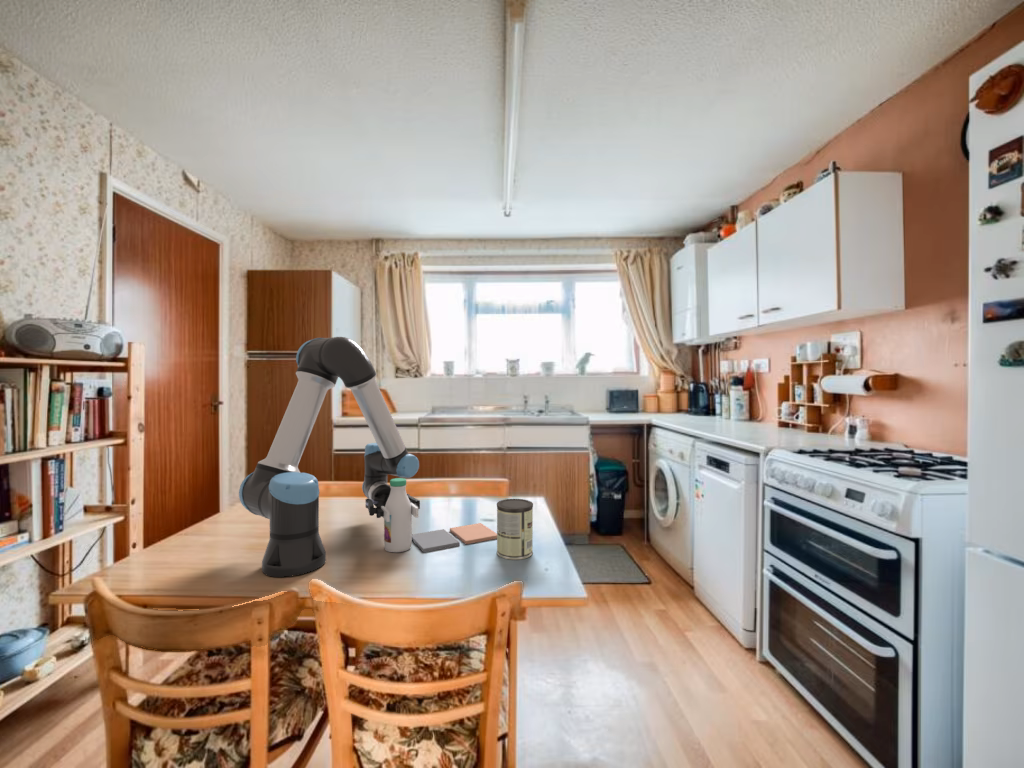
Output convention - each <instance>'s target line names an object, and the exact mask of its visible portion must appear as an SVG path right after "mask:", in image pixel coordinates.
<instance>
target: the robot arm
mask: <svg viewBox="0 0 1024 768" xmlns="http://www.w3.org/2000/svg"><path fill="white" fill-rule="evenodd" d="M295 356H296V357H295V361H296V364H297V369H296V371H295V375H296V377H297V384H296V386H295V388H294V391H293V392H292V393H293V394H292V396H291V398H290V400H289V402H288V405H287V407H286V410H285V411H284V412H285V413H284V415H283V418H282V419H281V422H280V425H279V427H278V428H277V431H276V433H275V437H274V439H273V441H272V444H271V446H270V448H269V451H268V453H267V456H266V457H265V458H264V459H261V460H259V461H258V462H257V464H256V466H255V469H254V470H253V472H251V473H250V474H248V475H247V476H246V477H245V478H244V479H243V480H242V482H241V483H240V487H239V489H238V497H239V502H240V504H241V506H242V507H244V508H245V510H247V511H248V512H249V513H251V514H253V515H256V516H260V517H261V518H262V517H263V518H265V519H268V520H269V541H268V543H267V546H266V549H265V553H264V555H263V557H262V560H261V561H262V562H261V571H262V573H263V574H264V575H265V576H267V577H269V576H270V577H273V578H274V577H276V578H285V577H284V576H290V577H293V576H292V575H297V576H299V575H298V574H301V575H304V574H303V573H305V574H308V573H311V572H314V571H316V570H318V569H320V568H321V567H323V566H324V565H325V564H326V562H325V561H327V558H326V557H327V554H326V553H327V552H326V549H325V547H324V544H323V541H322V538H321V535H320V532H319V531H320V529H319V527H320V526H319V524H320V523H319V522H320V521H319V520H320V519H319V518H320V517H319V516H320V513H319V512H320V507H319V506H320V496H319V495H320V487H319V481H318V479H317V477H315V475H313V474H310V473H307V472H301V471H300V469H299V463H300V461H301V458H302V456H303V454H304V451H305V449H306V446H307V444H308V440H309V439H310V435H311V434H312V431H313V428H314V425H315V423H316V421H317V418H318V416H319V413H320V410H321V408H322V405H323V403H324V401H325V397H326V396H327V395H326V394H327V393H328V391H329V390H331V389H333V388H335V386H336V385H337V382H338V379H339V378H340V380H341V381H342V383H343V384H344V386H345V388H347V389H349V390H351V393H352V395H353V397H354V399H355V401H356V403H357V405H358V407H359V409H360V412H361V413H362V415H363V417H364V419H365V421H366V424H367V426H368V429H369V430H370V431H371V435H372V436H373V438H374V440H375V442H369V443H367V444H366V445H365V447H364V455H363V458H364V478H363V479H364V480H363V482H362V486H361V489H362V493H363V494H364V496H365V497H366V499H365V508H366V509H368V510H367V511H368V514H369V516H375V515H376V517H375V518H376V519H380V518H383V520H384V519H385V521H386V522H390V512H389V511H388V510H387V509H386V508H385V505H386V502H387V500H388V497H389V495H390V491H391V488H390V484H388V475H389V476H393V477H394V476H395V477H397V478H404V479H410V478H413V477H414V476H415V475H416V474H417V472H418V471H419V469H420V461H419V458H418V457H417V456H416V455H414V454H412V453H409V451H408V449H407V447H406V444H405V442H404V441H403V438H402V436H401V434H400V431H399V430H398V427H397V425H396V423H395V420H394V418H393V416H392V413H391V412H390V409H389V407H388V405H387V403H386V400H385V398H384V396H383V394H382V391H381V390H380V386H379V384H378V382H377V379H376V377H377V372H376V369H375V368H374V366H373V364H372V362H371V359H370V358H369V356H368V355H367V353H366V352H365V351H364V349H363V348H362V347H361V346H360V345H359V344H358V343H357V342H355V341H354V340H352V339H350V338H348V337H346V336H334V337H316V338H313V339H310V340H307V341H305V342H304V343H302V344H301V346H300V347H299V348H298V350H297V352H296V355H295ZM407 496H408V498H409V500H410V503H411V511H412V517H415V518H419V510H420V509H421V501H420V499H418V498H415V497H414V496H411V495H410V494H409V493H407ZM323 564H324V565H323ZM322 565H323V566H322ZM319 567H320V568H319ZM317 568H318V569H317ZM315 569H316V570H315ZM313 570H314V571H313ZM310 571H311V572H310ZM307 572H308V573H307Z"/></svg>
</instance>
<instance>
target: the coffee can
mask: <svg viewBox="0 0 1024 768" xmlns="http://www.w3.org/2000/svg"><path fill="white" fill-rule="evenodd" d="M533 508H534V502H532V501H530V500H528V499H523V498H509V499H508V498H505V499H503V500H499V501H497V503H496V533H497V539H496V540H497V541H496V555H497V556H499V557H500V558H501V559H504V560H505V559H506V560H512V561H513V560H514V561H515V560H516V561H517V560H525V559H528V558H529V557H531V556H532V555H533V554H534V553H533V539H534V538H533V533H534V532H533V524H534V523H533V522H534V521H533V518H534V514H533Z"/></svg>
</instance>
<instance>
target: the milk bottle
mask: <svg viewBox="0 0 1024 768" xmlns="http://www.w3.org/2000/svg"><path fill="white" fill-rule="evenodd" d="M389 485H390V488H391V491H390V495H389V497H388V500H387V502H386V505H385V508H386V509H387V510H388V511H389V512H390V522H386V521H385V519H384V518H383V524H384V525H383V526H384V527H383V528H384V529H383V530H384V531H383V538H384V539H383V547H384V550H385V551H386V552H389V553H404V552H406V551H409V550H410V549H411V547H412V545H413V544H412V543H413V541H412V534H413V533H412V532H413V528H412V527H413V525H412V523H413V521H412V519H413V515H412V511H411V503H410V500H409V498H408V496H407V494H408V493H407V490H406V487H407V478H404V477H395V478H391V479H390V480H389Z"/></svg>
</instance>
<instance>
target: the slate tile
mask: <svg viewBox="0 0 1024 768" xmlns="http://www.w3.org/2000/svg"><path fill="white" fill-rule="evenodd" d="M412 540H413V541H414V542H415V543H416V544H417V545H416V544H415V543H414V544H415V545H416V547H418V548H419V550H421V551H422V552H423V553H427V552H432V551H438V550H443V549H448V548H453V547H459V546H460V544H461V543H460V541H459V540H458V539H456V538H455V537H454V536H453V535H452V534H451V533H450V532H448V531H447V530H446V529H444V528H442V529H436V530H431V531H424V532H418V533H412ZM413 541H412V542H413Z"/></svg>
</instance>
